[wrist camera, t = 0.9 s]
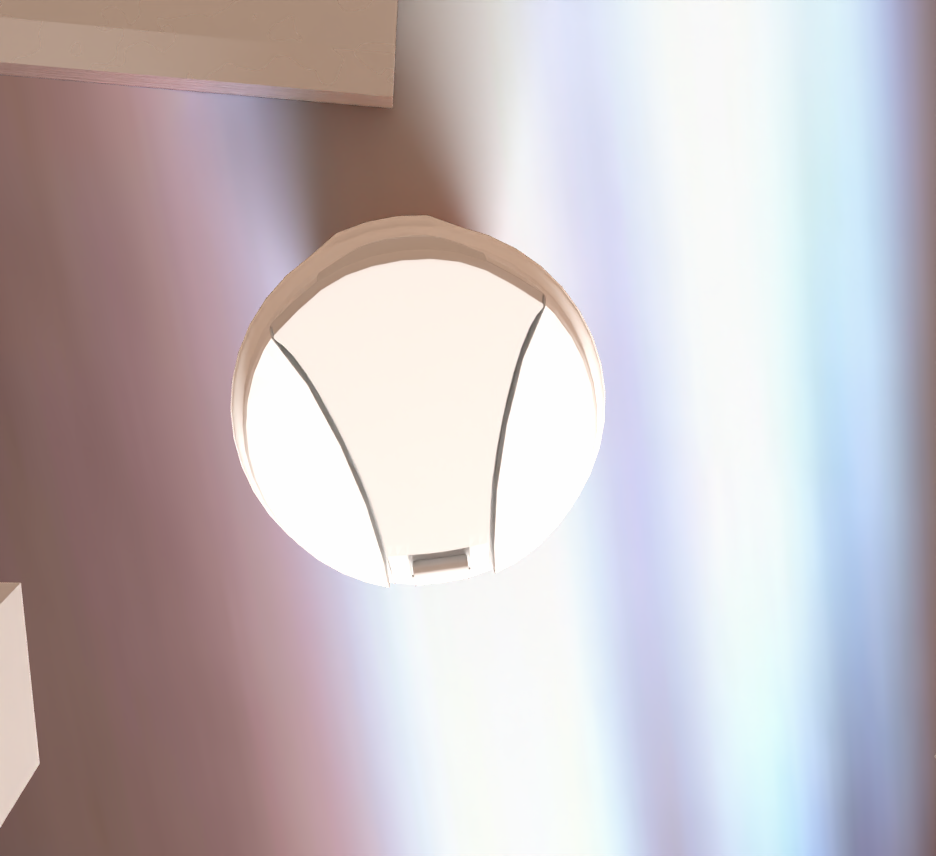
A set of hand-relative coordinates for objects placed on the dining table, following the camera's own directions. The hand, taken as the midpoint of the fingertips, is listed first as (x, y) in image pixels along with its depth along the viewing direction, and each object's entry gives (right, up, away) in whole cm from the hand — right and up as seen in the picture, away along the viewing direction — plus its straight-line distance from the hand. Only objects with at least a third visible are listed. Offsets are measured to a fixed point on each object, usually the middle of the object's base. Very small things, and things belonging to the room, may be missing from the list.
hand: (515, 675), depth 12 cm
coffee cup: (-3, +8, +20) cm, 22 cm away
